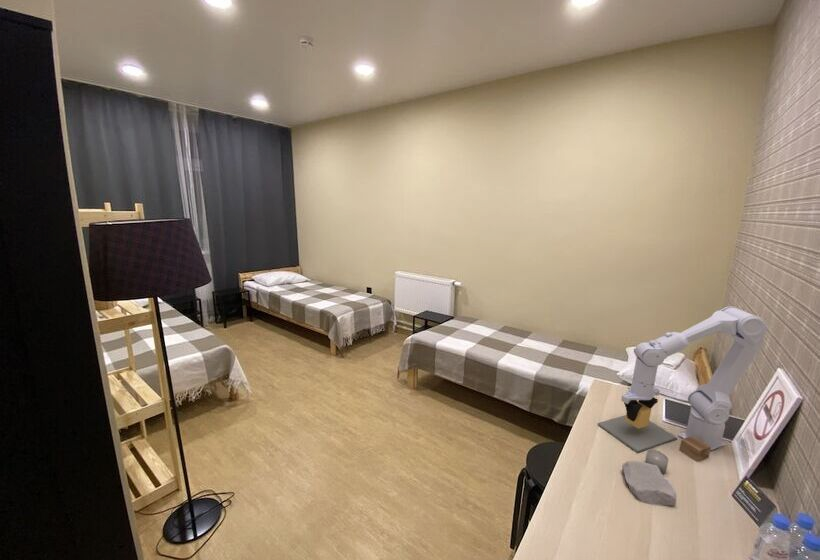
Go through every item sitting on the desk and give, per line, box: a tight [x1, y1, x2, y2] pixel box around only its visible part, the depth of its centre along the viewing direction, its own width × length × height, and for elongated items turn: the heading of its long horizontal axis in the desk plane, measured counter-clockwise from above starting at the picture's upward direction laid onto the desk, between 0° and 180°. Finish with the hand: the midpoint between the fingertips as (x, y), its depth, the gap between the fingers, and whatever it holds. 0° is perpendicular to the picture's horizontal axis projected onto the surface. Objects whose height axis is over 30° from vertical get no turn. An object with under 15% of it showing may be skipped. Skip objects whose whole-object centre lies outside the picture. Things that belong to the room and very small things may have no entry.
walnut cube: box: [678, 436, 712, 463], centre depth 101 cm, size 5×5×4 cm
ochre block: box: [625, 402, 652, 429], centre depth 109 cm, size 4×4×6 cm
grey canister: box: [644, 449, 669, 476], centre depth 96 cm, size 5×5×4 cm
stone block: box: [621, 460, 677, 507], centre depth 90 cm, size 12×5×10 cm
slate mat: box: [597, 414, 678, 454], centre depth 111 cm, size 18×14×1 cm
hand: (636, 417), depth 109 cm, fingers closed on ochre block, 4 cm apart
